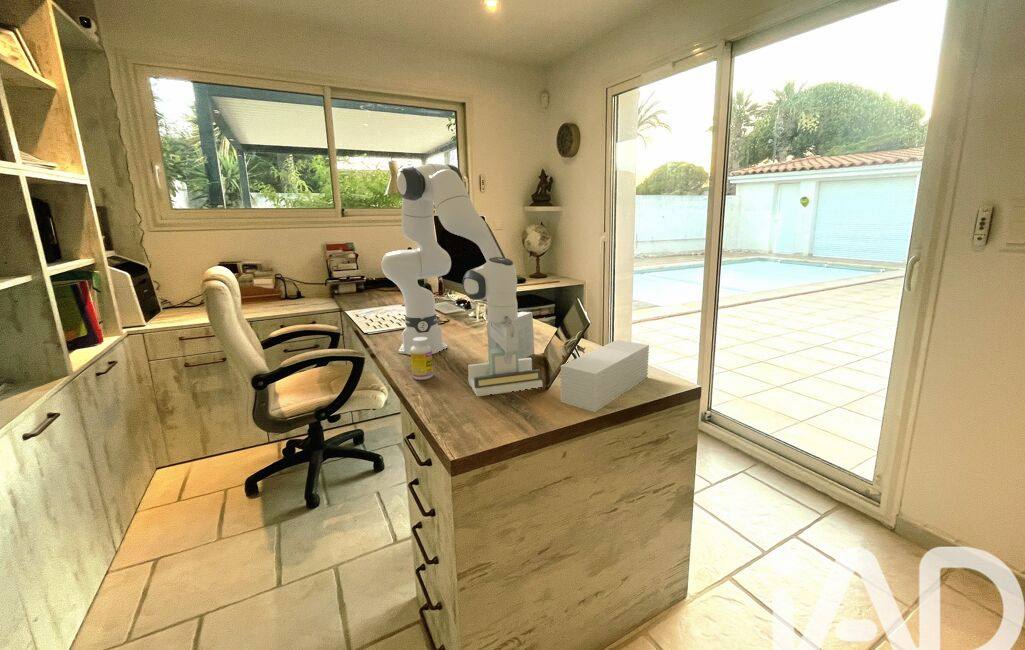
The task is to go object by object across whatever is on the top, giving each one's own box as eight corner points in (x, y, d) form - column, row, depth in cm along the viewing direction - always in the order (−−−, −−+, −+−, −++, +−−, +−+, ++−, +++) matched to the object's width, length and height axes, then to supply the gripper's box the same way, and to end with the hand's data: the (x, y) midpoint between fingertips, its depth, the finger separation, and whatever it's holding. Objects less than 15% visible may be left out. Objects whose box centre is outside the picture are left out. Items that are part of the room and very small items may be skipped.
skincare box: (522, 352, 167) (522, 310, 163) (534, 354, 163) (534, 312, 160) (487, 367, 150) (486, 322, 146) (500, 370, 147) (499, 324, 143)
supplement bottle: (428, 381, 139) (425, 341, 136) (409, 380, 140) (405, 341, 137) (436, 373, 145) (433, 336, 142) (417, 372, 146) (414, 335, 143)
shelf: (468, 382, 137) (467, 363, 135) (529, 374, 142) (529, 356, 141) (476, 396, 125) (475, 376, 124) (542, 387, 131) (542, 368, 129)
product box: (514, 374, 137) (513, 346, 134) (518, 379, 132) (518, 350, 130) (489, 377, 134) (488, 349, 132) (493, 382, 130) (492, 353, 128)
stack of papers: (594, 413, 114) (595, 373, 111) (560, 402, 120) (560, 365, 118) (647, 378, 137) (649, 345, 135) (616, 371, 144) (617, 339, 141)
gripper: (523, 320, 120) (524, 368, 123) (503, 306, 139) (504, 348, 142) (501, 322, 118) (502, 371, 121) (484, 308, 137) (485, 350, 140)
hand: (503, 358), depth 132 cm, fingers open, 8 cm apart
